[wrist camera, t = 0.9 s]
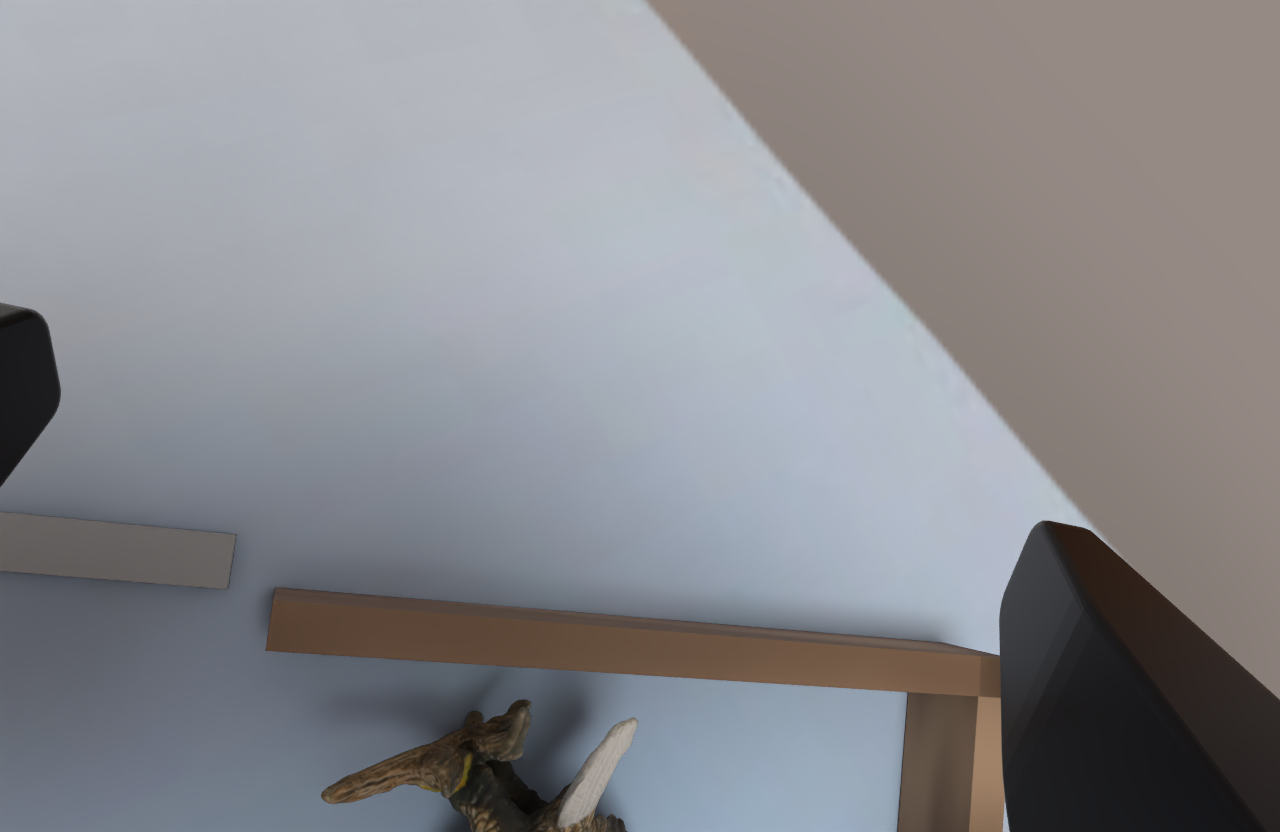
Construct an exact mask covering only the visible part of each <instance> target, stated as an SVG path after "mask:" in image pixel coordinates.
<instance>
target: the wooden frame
mask: <svg viewBox="0 0 1280 832" xmlns="http://www.w3.org/2000/svg"><path fill="white" fill-rule="evenodd" d="M266 651H277V652H293V653H308V654H324V655H339V656H355V657H370V658H386V659H402V660H417V661H433V662H448V663H464V664H479V665H495V666H510V667H526V668H542V669H557V670H573V671H588V672H604V673H619V674H635V675H651V676H666V677H682V678H697V679H713V680H728V681H744V682H759V683H775V684H791V685H806V686H822V687H837V688H853V689H868V690H884V691H900V692H908V704H907V717H906V730H905V743H904V756H903V769H902V782H901V795H900V808H899V821H898V832H1002V830H1003V815H1004V799H1005V794H1004V785H1003V776H1002V752H1001V693H1000V656H999V655H995V654H990V653H986V652H981V651H977V650H973V649H968V648H964V647H959V646H955V645H951V644H946V643H940V642H928V641H916V640H904V639H892V638H880V637H868V636H856V635H844V634H832V633H820V632H808V631H796V630H784V629H772V628H760V627H748V626H736V625H724V624H712V623H700V622H688V621H676V620H664V619H652V618H640V617H628V616H616V615H604V614H592V613H579V612H567V611H555V610H543V609H531V608H519V607H507V606H495V605H483V604H471V603H459V602H447V601H435V600H423V599H411V598H399V597H387V596H375V595H363V594H351V593H339V592H327V591H315V590H303V589H291V588H279V587H276V588H275V593H274V598H273V604H272V611H271V617H270V624H269V631H268V637H267V644H266Z"/></svg>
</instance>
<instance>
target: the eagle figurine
mask: <svg viewBox="0 0 1280 832" xmlns="http://www.w3.org/2000/svg"><path fill="white" fill-rule="evenodd" d="M530 707H531V702H530V701H528V700H525V699H524V700H518V701H516V702H514V703H513V704H512V705H511V706H510V707H509V709H508V711H507V713H506V714H504V715H502V716H496V717H493V718H491V719H490V720H489V721H488V722H486V723H483V716H482V714H481V713H480V712H477V711H472V712H470V713H469V714H468V716H467V719H466V723H465V725H464V727H462V728H461V729H459V730H457V731H454V732H452V733H449V734H447V735H446V736H444V737H442V738H440V739H439V740H437V741H435V742H433V743H431V744H427V745H423V746H420V747H417V748H414V749H411V750H409V751H406V752H403V753H401V754H399V755H396V756H394V757H392V758H389V759H387V760H385V761H382V762H380V763H378V764H375V765H373V766H371V767H369V768H366V769H364V770H362V771H359V772H357V773H355V774H352V775H349V776H346V777H344V778H343V779H341V780H340V781H338V782H337V783H335V784H333V785H331V786H329V787H328V788H326V789H325V790H324V791H323V792H322V794H321V797H322V799H323V800H324V801H326V802H327V803H329V804H338V803H349V802H354V801H358V800H361V799H364V798H367V797H370V796H372V795H374V794H378V793H384V792H389V791H390V790H391V789H393V788H394V787H396V786H399V785H402V784H408V785H417V786H419V787H421V788H423V789H426V790H430V791H434V792H442V795H443V797H445V798H448V799H449V800H450V802H451V805H452V807H453V808H454V809H455V810H456V811H458V812H460V813H461V814H463V815H464V816H466V817H467V818H468V820H469V823H470V828H471V831H472V832H627V831H626V830H625V825H624V822H623V820H621V819H620V818H618V819H617V818H616V817H615V816H614V815H613V814H611V815H609V817H608V818H607V819H606V818H605V817H604V816H603V815H597V816H595V818H594V813H595V808H596V806H597V803H598V801H599V799H600V797H601V795H602V793H603V792H604V790H605V788H606V786H607V784H608V781H609V779H610V777H611V775H612V773H613V771H614V769H615V767H616V765H617V763H618V761H619V759H620V758H621V757H622V756H623V754H624V753H625V752H626V751H627V750H628V748H629V747H630V745H631V743H632V739H633V735H634V732H635V730H636V728H637V725H638V721H637V719H636V718H630V719H628V720H627V721H622V722H620V723H618V724H616V725H614V726H613V727H612V728H611V730H610V731H609V732H608V734H607V735H606V737H605V739H604V740H603V741H602V742H601V744H600V745H599V746H598V747H597V748H596V750H595V751H593V752H592V753H591V754H590V756H589V757H588V758H587V760H586V761H585V763H584V765H583V766H582V768H581V770H580V771H579V773H578V774H577V776H576V778H575V779H574V781H573V782H572V783H571V784H569V785H568V786H566V787H565V788H564V789H563V790H562V792H561V793H560V794H559V795H558V796H557V797H556V798H555V799H554V800H552V801H551V802H549V803H547V802H546V801H543V800H541V799H540V798H539V797H538V795H537V792H536V791H534V790H532V789H529V788H528V786H527V785H526V784H524V783H523V782H522V780H521V779H520V778H519V777H518V776H517V775H516V774H515V773H514V771H513V769H512V765H511V763H510V762H509V761H513V760H516V759H519V758H520V757H521V756H522V755H523V743H524V740H525V737H526V735H527V732H528V730H529V726H530V720H531V715H530V712H529V709H530ZM509 729H510V730H509ZM507 730H508V731H507Z"/></svg>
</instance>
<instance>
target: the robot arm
mask: <svg viewBox="0 0 1280 832" xmlns="http://www.w3.org/2000/svg"><path fill="white" fill-rule="evenodd" d="M60 397H61V388H60V382H59V377H58V372H57V367H56V362H55V357H54V352H53V347H52V342H51V337H50V332H49V328H48V324H47V322H46V321H45V319H44V318H43V316H42V315H40V314H39V313H38V312H36V311H35V310H32V309H28V308H23V307H18V306H13V305H9V304H4V303H0V487H1V486H2V484H3V483H4V482H5V480H6V479H7V478H8V476H9V475H10V474H11V472H12V471H13V470H14V469H15V467H16V466H17V465H18V463H19V462H20V461H21V459H22V458H23V457H24V455H25V454H26V453H27V451H28V450H29V449H30V447H31V446H32V445H33V443H34V442H35V441H36V439H37V438H38V437H39V435H40V434H41V433H42V431H43V430H44V429H45V427H46V426H47V425H48V423H49V422H50V421H51V419H52V418H53V416H54V415H55V413H56V411H57V408H58V406H59V402H60ZM999 631H1000V693H1001V752H1002V776H1003V785H1004V794H1005V803H1006V810H1007V817H1008V824H1009V831H1010V832H1280V700H1279V699H1278V698H1277V697H1276V696H1275V695H1274V694H1273V693H1272V692H1271V691H1269V690H1268V689H1267V688H1266V687H1265V686H1264V685H1263V684H1262V683H1260V682H1259V681H1258V680H1257V679H1256V678H1255V677H1254V676H1253V675H1251V674H1250V673H1249V672H1248V671H1247V670H1246V669H1245V668H1244V667H1243V666H1241V665H1240V664H1239V663H1238V662H1237V661H1236V660H1235V659H1234V658H1233V657H1231V656H1230V655H1229V654H1228V653H1227V652H1226V651H1225V650H1223V649H1222V648H1221V647H1220V646H1219V645H1218V644H1217V643H1216V642H1215V641H1214V640H1212V639H1211V638H1210V637H1209V636H1208V635H1207V634H1206V633H1205V632H1203V631H1202V630H1201V629H1200V628H1199V627H1198V626H1197V625H1196V624H1194V623H1193V622H1192V621H1191V620H1190V619H1189V618H1188V617H1187V616H1186V615H1184V614H1183V613H1182V612H1181V611H1180V610H1179V609H1178V608H1177V607H1176V606H1174V605H1173V604H1172V603H1171V602H1170V601H1169V600H1168V599H1167V598H1165V597H1164V596H1163V595H1162V594H1161V593H1160V592H1159V591H1158V590H1156V589H1155V588H1154V587H1153V586H1152V585H1151V584H1150V583H1149V582H1148V581H1146V580H1145V579H1144V578H1143V577H1142V576H1141V575H1140V574H1139V573H1138V572H1136V571H1135V570H1134V569H1133V568H1132V567H1131V566H1130V565H1129V564H1127V563H1126V562H1125V561H1124V560H1123V559H1122V558H1121V557H1120V556H1118V555H1117V554H1116V553H1115V552H1114V551H1113V550H1112V549H1111V548H1110V547H1108V546H1107V545H1106V544H1105V543H1104V542H1103V541H1102V540H1101V539H1099V538H1098V537H1097V536H1096V535H1095V534H1094V533H1093V532H1091V531H1090V530H1088V529H1085V528H1082V527H1077V526H1072V525H1067V524H1062V523H1057V522H1053V521H1041V522H1039V523H1037V524H1036V525H1035V526H1034V527H1033V529H1032V530H1031V532H1030V534H1029V536H1028V538H1027V540H1026V543H1025V545H1024V547H1023V550H1022V552H1021V554H1020V557H1019V559H1018V561H1017V564H1016V566H1015V568H1014V571H1013V573H1012V576H1011V578H1010V580H1009V583H1008V585H1007V587H1006V590H1005V592H1004V595H1003V599H1002V603H1001V608H1000V617H999Z"/></svg>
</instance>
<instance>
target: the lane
mask: <svg viewBox="0 0 1280 832" xmlns="http://www.w3.org/2000/svg"><path fill="white" fill-rule="evenodd" d="M236 535H237V534H226V533H216V532H206V531H196V530H185V529H175V528H165V527H155V526H144V525H134V524H124V523H114V522H103V521H93V520H83V519H73V518H62V517H52V516H42V515H32V514H21V513H11V512H1V511H0V571H7V572H19V573H32V574H44V575H56V576H69V577H81V578H93V579H106V580H118V581H130V582H142V583H155V584H167V585H179V586H192V587H204V588H216V589H228V587H229V580H230V574H231V567H232V561H233V554H234V548H235V542H236Z"/></svg>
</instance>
